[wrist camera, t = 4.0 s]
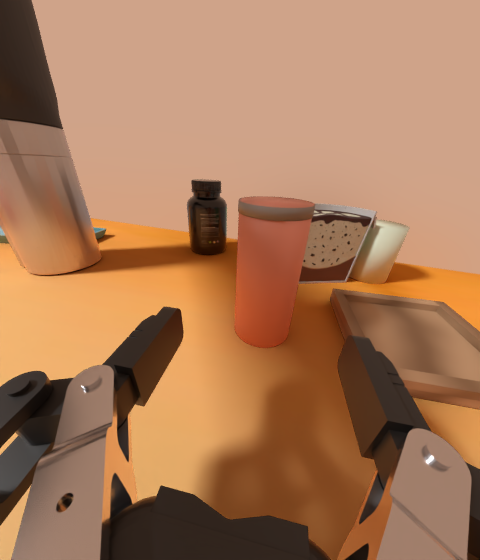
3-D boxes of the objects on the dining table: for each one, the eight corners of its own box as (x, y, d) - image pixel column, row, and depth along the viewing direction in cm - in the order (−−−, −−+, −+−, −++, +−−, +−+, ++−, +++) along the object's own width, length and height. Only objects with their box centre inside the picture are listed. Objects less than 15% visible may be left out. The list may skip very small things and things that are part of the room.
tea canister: (228, 342, 19) (231, 204, 13) (239, 307, 24) (245, 195, 18) (289, 352, 18) (321, 210, 12) (288, 314, 23) (310, 199, 17)
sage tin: (349, 281, 30) (368, 227, 27) (339, 264, 36) (354, 217, 32) (393, 286, 30) (419, 231, 26) (377, 268, 35) (396, 220, 31)
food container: (333, 264, 36) (351, 203, 31) (355, 282, 30) (380, 211, 25) (264, 265, 34) (271, 201, 29) (274, 284, 29) (285, 209, 24)
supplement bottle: (232, 246, 41) (233, 180, 36) (215, 258, 36) (213, 182, 30) (203, 241, 44) (200, 178, 38) (183, 251, 38) (176, 179, 32)
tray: (362, 387, 15) (369, 373, 15) (329, 299, 26) (333, 288, 25) (554, 422, 14) (573, 408, 13) (436, 313, 24) (443, 302, 23)
